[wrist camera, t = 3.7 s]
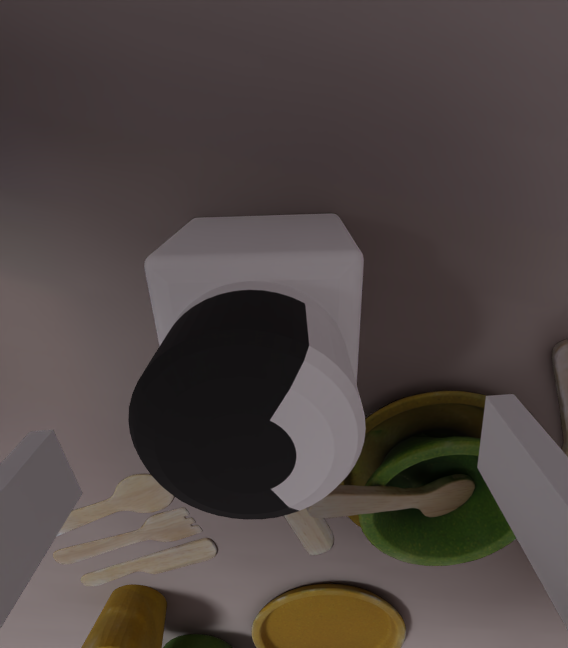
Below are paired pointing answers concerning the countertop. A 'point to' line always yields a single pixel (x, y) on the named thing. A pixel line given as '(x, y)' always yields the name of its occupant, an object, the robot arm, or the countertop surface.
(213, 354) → the medicine bottle
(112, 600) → the tableware set
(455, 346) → the countertop surface
